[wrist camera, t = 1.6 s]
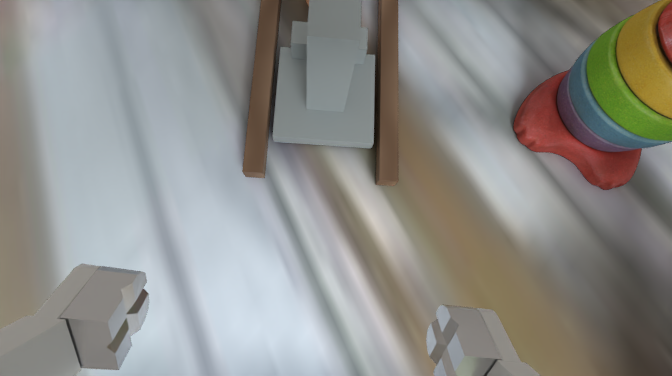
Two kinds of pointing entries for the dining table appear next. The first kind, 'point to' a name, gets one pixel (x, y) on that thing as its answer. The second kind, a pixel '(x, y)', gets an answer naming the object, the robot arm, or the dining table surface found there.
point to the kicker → (326, 79)
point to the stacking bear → (607, 100)
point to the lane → (385, 92)
